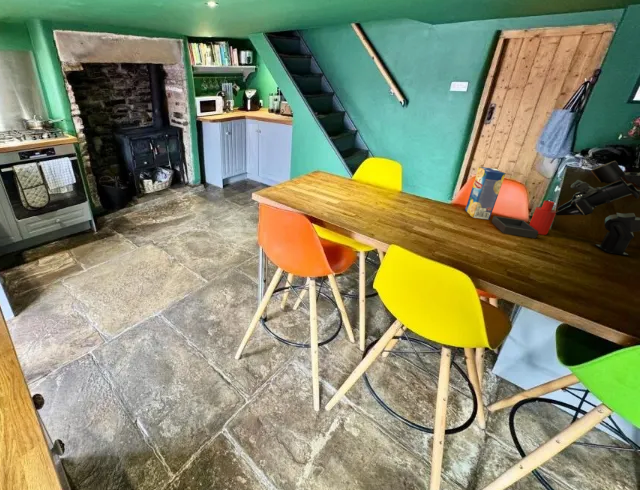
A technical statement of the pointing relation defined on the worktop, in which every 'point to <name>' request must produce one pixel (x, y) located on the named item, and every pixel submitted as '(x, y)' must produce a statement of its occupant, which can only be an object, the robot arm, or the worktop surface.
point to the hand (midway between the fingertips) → (556, 211)
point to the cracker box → (484, 192)
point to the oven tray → (514, 227)
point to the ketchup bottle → (543, 217)
